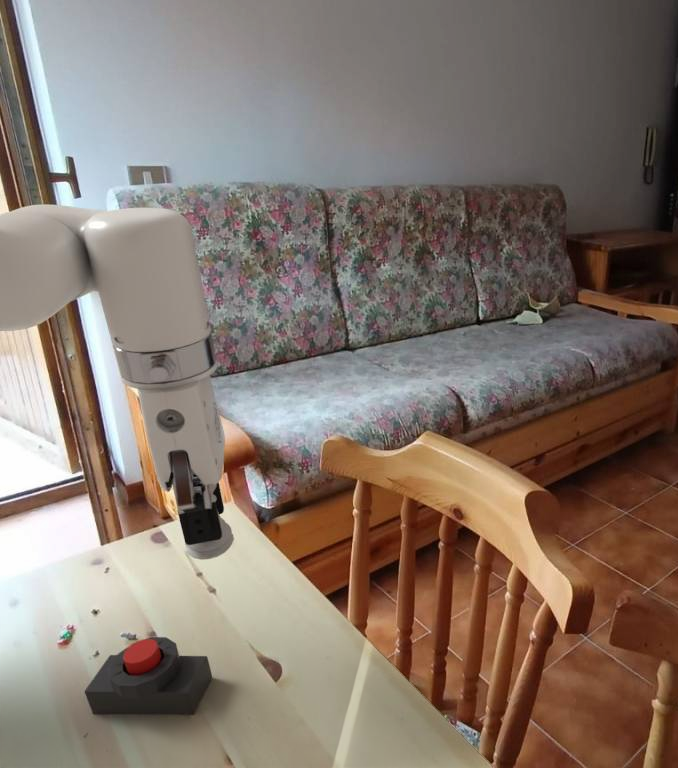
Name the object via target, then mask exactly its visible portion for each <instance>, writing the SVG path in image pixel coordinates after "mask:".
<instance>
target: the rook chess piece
mask: <svg viewBox="0 0 678 768" xmlns="http://www.w3.org/2000/svg"><path fill="white" fill-rule="evenodd" d="M192 477H193V475H192ZM215 488H216V484H214V485H213V484H209V489H210V494H211V500H212V502H216V500H217V498H216V496H215V495H213V492H214V490H215ZM193 489H194V493H201V495H202V491H201V486H199V487H193ZM217 511H218V510H217ZM218 516H219V520H220V525H221V530H222V537H221V539H219V540H214V541H209V542H204V543H198V544H193V545H187V544H186V543H185V542H184V544H185V545H184V546H185V552H186V554H188V556H190V557H192V558H193V559H197V560H201V561H203V560H211V559H214V558H218V557H220V556H221V555H223V554H225V553H226V552H227V551H228V550H229V549H230V548H231V547H232V545H233V542H234V540H235V538H234V534H233V531H232V527H231V525H230V524H228V522H226V520H225V519H223V518H222V517H221V514H219V513H218Z"/></svg>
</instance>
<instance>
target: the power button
mask: <svg viewBox="0 0 678 768" xmlns="http://www.w3.org/2000/svg"><path fill="white" fill-rule="evenodd" d="M131 644H132V645H131ZM131 644H129V645H128V646H127V647H128V648H127V647H126V648H127V649H126V648H125V649H126V651H125V652H124V655H123V659H124V662H125V665H126V668H127V671H128V673H129V674H131V675H142V674H144V673H147V672H150V671H151V670H153V669H154V668H155V667H157V666H158V665H159V663H160V661H161V654H160V650H159V647H158V644H157V642H156V641H155V640H152V639H147V638H143V639H140V640H137V641H135V642H133V643H131Z"/></svg>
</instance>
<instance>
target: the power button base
mask: <svg viewBox="0 0 678 768" xmlns="http://www.w3.org/2000/svg"><path fill="white" fill-rule="evenodd" d="M146 639H152V640H155V641H156V642H157V644H158V647H159V650H160V654H161V661H160V663H159V665H158V666H157V667H155V668H154V669H153V670H151V671H150V672H147V673H144V674H142V675H131V674H129V673H128V671H127V668H126V665H125V662H124V659H123V655H124V652H125V651H126V649H127V648H128V647H129V646H127V647H126V648H124V649H123V650H121V651H120V652H118V653H117V654H110V655H109V656H108V658H106V660H105V661H104V663H103V665H102V666H101V668H100V669H99V670H98V671H97V673H96V674H95V676H94V677H93V678H92V680H91V681H90V683H89V684H88V686H87V687H86V689H85V690H84V696H85V698H86V700H87V703H88V705H89V708H90V710H91V713H92V715H155V716H156V715H157V716H158V715H165V716H166V715H167V716H169V715H170V716H172V715H173V716H181V715H182V716H194V715H195V714H196V712H197V710H198V708H199V705H200V704H201V702H202V699H203V698H204V696H205V694H206V691H207V690H208V687H209V686H210V685H211V682H212V680H213V673H212V670H211V667H210V666H211V665H210V662H209V657H208V656H207V655H180V652H179V649H178V645H177V643H176V642H175V641H173V640H171V639H170V638H168V637H166V636H151V637H147V638H146ZM132 644H133V643H131V644H130V645H132Z"/></svg>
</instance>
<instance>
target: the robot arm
mask: <svg viewBox="0 0 678 768" xmlns="http://www.w3.org/2000/svg"><path fill="white" fill-rule="evenodd" d="M200 272H201V271H200V266H199V260H198V255H197V250H196V245H195V241H194V235H193V231H192V228H191V225H190V223H189V221H188V219H187V218H186V217H184V215H183V214H181V213H179V212H178V211H176V210H173V209H169V208H165V207H164V208H163V207H127V208H118V209H111V210H103V209H92V208H85V207H78V206H70V205H69V206H68V205H61V204H46V203H45V204H42V203H41V204H32V205H26V206H22V207H19V208H16V209H14V210H11V211H7V212H4V213H1V214H0V332H14V331H22V330H27V329H30V328H33V327H36V326H38V325H41V324H43V323H45V321H47V320H49V319H50V318H51V317H53V316H54V315H55V314H57V313H58V312H59V311H60V310H62V309H63V308H64V307H66V306H67V305H68V304H69V303H71V302H73V301H75V300H77V299H80V298H81V297H84V296H86V295H88V294H91V293H92V292H97V293H98V295H99V298H100V304H101V307H102V310H103V313H104V318H105V321H106V325H107V329H108V332H109V336H110V340H111V344H112V348H113V353H114V356H115V360H116V364H117V367H118V371H119V374H120V379H121V382H122V384H124V385H125V386H127V387H129V388H132V389H135V390H136V389H137V394H138V399H139V405H140V409H141V410H140V413H141V415H142V420H143V425H144V430H145V434H146V439H147V444H148V447H149V452H150V456H151V457H150V458H151V460H152V465H153V468H154V472H155V476H156V479H157V481H158V484H159V487H160V489H161V490H163V491H165V492H167V493H169V492H171V490H172V489H173V495H174V499H175V503H176V509H177V515H178V519H179V523H180V527H181V531H182V535H183V538H184V544H185V543H186V544H187V545H193V544H198V543H204V542H209V541H214V540H219V539H221V537H222V530H221V525H220V520H219V516H218V513H219V515H222V514H223V513H224V511H225V506H224V501H223V496H222V492H221V486H220V481H221V479H222V478H223V472H224V463H225V461H224V460H225V450H226V449H225V448H226V436H225V430H224V427H223V423H222V418H221V415H220V411H219V406H218V402H217V397H216V393H215V390H214V385H213V382H212V378H211V375H212V374H214V373H215V371H216V370H217V369H218V362H217V356H216V355H217V354H216V350H215V345H214V339H213V334H212V328H211V325H210V318H209V314H208V309H207V302H206V298H205V293H204V288H203V283H202V281H203V280H202V278H201V273H200ZM192 475H193V477H192ZM209 484H213V485H214V484H216V488H215V490H214V492H213V495H215V496H216V498H217V500H216V502H212V500H211V494H210V489H209ZM199 486H201V491H202V495H201V493H194V489H193V487H199ZM217 510H218V511H217Z"/></svg>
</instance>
